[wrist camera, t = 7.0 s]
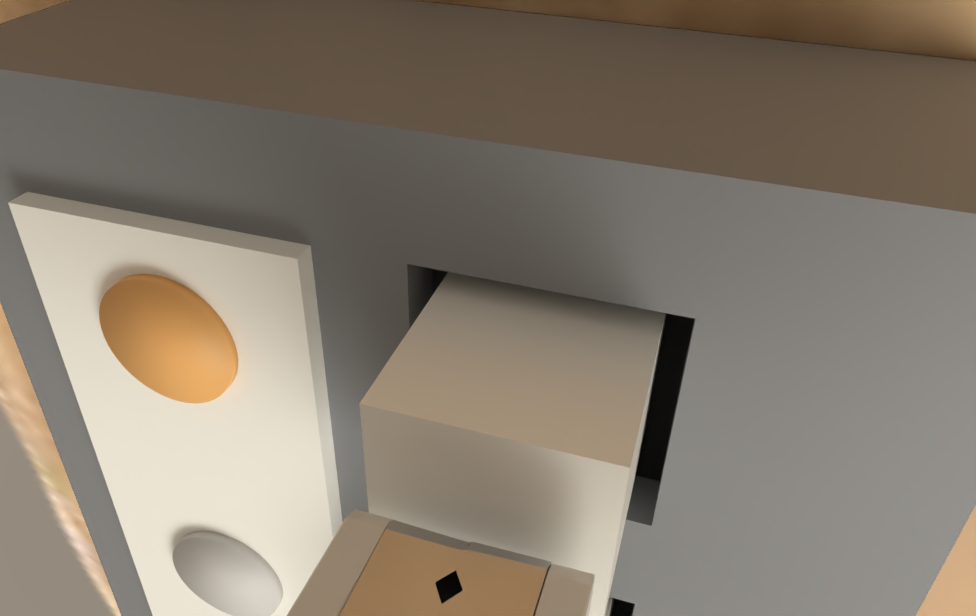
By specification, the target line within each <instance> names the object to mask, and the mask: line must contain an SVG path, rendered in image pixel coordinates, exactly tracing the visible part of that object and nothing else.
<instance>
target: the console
mask: <svg viewBox="0 0 976 616" xmlns="http://www.w3.org/2000/svg"><path fill="white" fill-rule="evenodd" d="M448 272H452V273H457V274H463V275H468V276H473V277H479V278H484V279H489V280H494V281H500V282H505V283H510V284H515V285H521V286H526V287H531V288H536V289H542V290H547V291H552V292H557V293H563V294H568V295H573V296H578V297H584V298H589V299H594V300H599V301H605V302H610V303H615V304H620V305H626V306H631V307H636V308H642V309H647V310H652V311H657V312H663V313H668V317H667V322H666V327H665V333H664V338H663V343H662V349H661V354H660V359H659V365H658V370H657V375H656V381H655V386H654V391H653V397H652V402H651V407H650V411H649V416H648V420H647V425H646V429H645V434H644V439H643V443H642V448H641V452H640V457H639V462H638V466H637V471H636V475H635V480H634V484H633V489H632V494H631V498H630V503H629V507H628V512H627V517H626V521H625V526H624V530H623V535H622V539H621V544H620V549H619V553H618V558H617V562H616V567H615V571H614V576H613V581H612V585H611V590H610V594H609V597H612V598H615V600H614V605H613V610H612V615H611V616H916V614H917V612H918V610H919V608H920V606H921V605H922V603H923V601H924V599H925V597H926V595H927V594H928V592H929V590H930V588H931V586H932V584H933V583H934V581H935V579H936V577H937V575H938V573H939V571H940V570H941V568H942V566H943V564H944V562H945V560H946V559H947V557H948V555H949V553H950V551H951V549H952V548H953V546H954V544H955V542H956V540H957V538H958V537H959V535H960V533H961V531H962V529H963V527H964V525H965V524H966V522H967V520H968V518H969V516H970V514H971V513H972V511H973V509H974V507H975V505H976V61H969V60H960V59H951V58H941V57H932V56H923V55H914V54H904V53H895V52H886V51H877V50H867V49H858V48H849V47H840V46H830V45H821V44H812V43H803V42H793V41H784V40H775V39H766V38H756V37H747V36H738V35H729V34H719V33H710V32H701V31H692V30H682V29H673V28H664V27H655V26H645V25H636V24H627V23H618V22H608V21H599V20H590V19H581V18H571V17H562V16H553V15H544V14H534V13H525V12H516V11H507V10H497V9H488V8H479V7H470V6H460V5H451V4H442V3H433V2H423V1H414V0H71V1H68V2H65V3H62V4H59V5H56V6H52V7H49V8H46V9H43V10H40V11H37V12H34V13H31V14H28V15H25V16H22V17H19V18H16V19H13V20H10V21H7V22H4V23H1V24H0V302H1V305H2V308H3V310H4V313H5V315H6V318H7V321H8V323H9V326H10V328H11V331H12V334H13V336H14V339H15V341H16V344H17V346H18V349H19V352H20V354H21V357H22V359H23V362H24V365H25V367H26V370H27V372H28V375H29V377H30V380H31V383H32V385H33V388H34V390H35V393H36V396H37V398H38V401H39V403H40V406H41V408H42V411H43V414H44V416H45V419H46V421H47V424H48V427H49V429H50V432H51V434H52V437H53V440H54V442H55V445H56V447H57V450H58V452H59V455H60V458H61V460H62V463H63V465H64V468H65V471H66V473H67V476H68V478H69V481H70V483H71V486H72V489H73V491H74V494H75V496H76V499H77V502H78V504H79V507H80V509H81V512H82V514H83V517H84V520H85V522H86V525H87V527H88V530H89V533H90V535H91V538H92V540H93V543H94V546H95V548H96V551H97V553H98V556H99V558H100V561H101V564H102V566H103V569H104V571H105V574H106V577H107V579H108V582H109V584H110V587H111V589H112V592H113V595H114V597H115V600H116V602H117V605H118V608H119V610H120V613H121V615H122V616H287V614H288V613H289V611H290V609H291V608H292V606H293V604H294V603H295V601H296V599H297V598H298V596H299V594H300V593H301V591H302V589H303V588H304V586H305V584H306V583H307V581H308V579H309V578H310V576H311V574H312V573H313V571H314V569H315V568H316V566H317V564H318V563H319V561H320V559H321V558H322V556H323V554H324V553H325V551H326V549H327V548H328V546H329V544H330V543H331V541H332V539H333V538H334V536H335V534H336V533H337V531H338V529H339V528H340V526H341V524H342V523H343V521H344V519H345V518H347V517H348V516H349V515H350V514H351V513H352V512H353V511H354V510H355V509H357V510H360V511H364V512H368V513H369V509H368V498H367V486H366V475H365V463H364V452H363V440H362V429H361V417H360V406H359V403H360V402H361V400H362V399H363V397H364V396H365V395H366V393H367V392H368V390H369V389H370V387H371V386H372V384H373V383H374V381H375V380H376V378H377V377H378V375H379V374H380V372H381V371H382V369H383V368H384V366H385V365H386V363H387V362H388V360H389V359H390V357H391V356H392V354H393V353H394V352H395V350H396V349H397V347H398V346H399V344H400V343H401V341H402V340H403V338H404V337H405V335H406V334H407V332H408V331H409V329H410V328H411V326H412V325H413V323H414V322H415V320H416V319H417V317H418V316H419V314H420V313H421V312H422V310H423V309H424V307H425V306H426V304H427V303H428V301H429V300H430V298H431V297H432V295H433V294H434V292H435V291H436V289H437V288H438V286H439V285H440V283H441V282H442V280H443V279H444V277H445V276H446V274H447V273H448Z"/></svg>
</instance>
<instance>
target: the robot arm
mask: <svg viewBox="0 0 976 616" xmlns="http://www.w3.org/2000/svg"><path fill="white" fill-rule="evenodd" d="M594 583H595V574H592V573H588V572H584V571H580V570H576V569H573V568H569V567H565V566H561V565H557V564H553V563H552V562H551V561H547V560H543V559H539V558H535V557H531V556H527V555H523V554H519V553H515V552H511V551H508V550H504V549H500V548H496V547H492V546H488V545H484V544H480V543H476V542H471V543H469V542H466V541H463V540H459V539H456V538H453V537H449V536H446V535H443V534H439V533H436V532H433V531H429V530H426V529H423V528H419V527H416V526H413V525H409V524H406V523H403V522H399V521H396V520H393V519H389V518H386V517H382V516H378V515H375V514H371V513H368V512H364V511H360V510H357V509H355V510H354V511H353V512H352V513H351V514H350V515H349V516H348V517H347V518H345V519H344V521H343V523H342V524H341V526H340V528H339V529H338V531H337V533H336V534H335V536H334V538H333V539H332V541H331V543H330V544H329V546H328V548H327V549H326V551H325V553H324V554H323V556H322V558H321V559H320V561H319V563H318V564H317V566H316V568H315V569H314V571H313V573H312V574H311V576H310V578H309V579H308V581H307V583H306V584H305V586H304V588H303V589H302V591H301V593H300V594H299V596H298V598H297V599H296V601H295V603H294V604H293V606H292V608H291V609H290V611H289V613H288V614H287V616H589V613H590V607H591V601H592V595H593V589H594Z"/></svg>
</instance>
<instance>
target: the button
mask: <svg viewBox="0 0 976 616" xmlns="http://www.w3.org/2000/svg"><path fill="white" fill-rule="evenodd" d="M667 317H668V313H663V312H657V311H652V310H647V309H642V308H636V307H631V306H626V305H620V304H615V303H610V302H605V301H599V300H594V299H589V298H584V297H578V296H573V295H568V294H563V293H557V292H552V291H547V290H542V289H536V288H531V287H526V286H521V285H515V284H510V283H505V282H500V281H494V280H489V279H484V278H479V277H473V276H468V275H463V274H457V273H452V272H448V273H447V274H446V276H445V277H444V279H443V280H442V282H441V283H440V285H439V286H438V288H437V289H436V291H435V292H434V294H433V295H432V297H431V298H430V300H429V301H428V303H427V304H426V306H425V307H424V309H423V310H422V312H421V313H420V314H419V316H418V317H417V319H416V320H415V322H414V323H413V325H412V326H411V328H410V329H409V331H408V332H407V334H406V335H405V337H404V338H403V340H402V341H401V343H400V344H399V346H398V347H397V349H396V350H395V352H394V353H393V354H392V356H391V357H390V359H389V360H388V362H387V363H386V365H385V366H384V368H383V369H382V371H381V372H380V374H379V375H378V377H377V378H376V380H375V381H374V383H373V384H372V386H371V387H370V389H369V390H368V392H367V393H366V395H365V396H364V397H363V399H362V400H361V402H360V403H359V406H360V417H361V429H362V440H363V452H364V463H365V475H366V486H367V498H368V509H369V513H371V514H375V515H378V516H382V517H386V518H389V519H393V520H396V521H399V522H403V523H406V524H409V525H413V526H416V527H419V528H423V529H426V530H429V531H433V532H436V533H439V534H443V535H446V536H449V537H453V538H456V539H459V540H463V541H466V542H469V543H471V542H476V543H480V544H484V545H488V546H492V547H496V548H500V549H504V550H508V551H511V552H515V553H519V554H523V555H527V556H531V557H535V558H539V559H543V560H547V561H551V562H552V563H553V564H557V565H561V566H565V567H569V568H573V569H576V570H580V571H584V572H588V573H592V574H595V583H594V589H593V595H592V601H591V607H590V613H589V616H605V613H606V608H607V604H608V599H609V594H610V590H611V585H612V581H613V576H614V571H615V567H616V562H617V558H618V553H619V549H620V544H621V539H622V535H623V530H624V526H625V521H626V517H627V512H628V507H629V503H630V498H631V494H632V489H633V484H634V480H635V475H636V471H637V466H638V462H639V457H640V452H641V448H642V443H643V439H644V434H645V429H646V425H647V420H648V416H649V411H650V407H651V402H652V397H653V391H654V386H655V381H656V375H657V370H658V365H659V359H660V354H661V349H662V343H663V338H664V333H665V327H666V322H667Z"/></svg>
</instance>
